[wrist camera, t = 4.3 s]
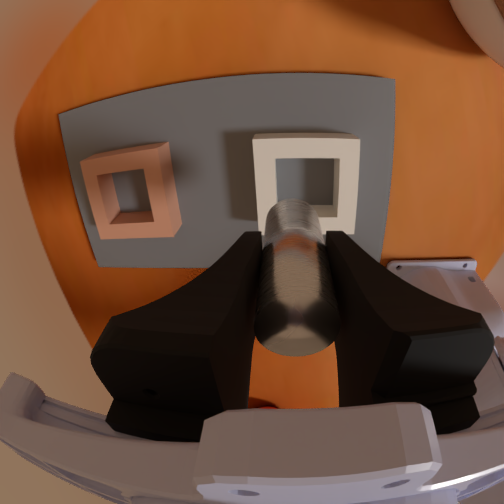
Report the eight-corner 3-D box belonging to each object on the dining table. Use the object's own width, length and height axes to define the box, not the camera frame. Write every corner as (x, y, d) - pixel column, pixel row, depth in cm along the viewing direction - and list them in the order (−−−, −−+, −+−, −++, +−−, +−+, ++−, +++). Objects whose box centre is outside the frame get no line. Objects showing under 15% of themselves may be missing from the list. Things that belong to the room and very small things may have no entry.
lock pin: (319, 198, 13) (346, 294, 7) (317, 246, 14) (335, 355, 9) (264, 198, 13) (251, 295, 8) (266, 246, 14) (255, 355, 9)
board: (389, 79, 16) (394, 79, 15) (376, 259, 23) (378, 266, 22) (66, 112, 19) (58, 114, 18) (103, 261, 26) (98, 267, 25)
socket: (168, 141, 19) (157, 148, 17) (182, 224, 22) (173, 237, 20) (94, 154, 19) (79, 161, 18) (112, 227, 23) (100, 239, 21)
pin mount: (352, 133, 17) (360, 139, 16) (348, 220, 21) (354, 234, 19) (255, 133, 18) (252, 139, 16) (260, 221, 21) (258, 235, 20)
